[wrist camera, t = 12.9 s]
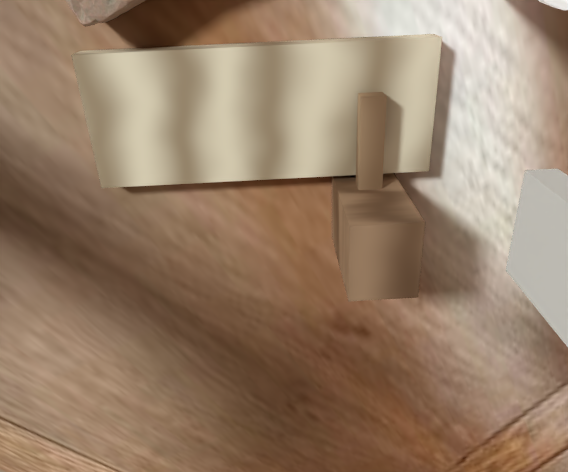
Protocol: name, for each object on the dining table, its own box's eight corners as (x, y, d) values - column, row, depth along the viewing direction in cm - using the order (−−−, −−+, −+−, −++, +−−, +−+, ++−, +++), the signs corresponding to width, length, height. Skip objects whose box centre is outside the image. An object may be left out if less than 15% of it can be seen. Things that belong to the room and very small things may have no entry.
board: (108, 178, 42) (101, 188, 40) (80, 50, 37) (71, 54, 35) (421, 162, 42) (428, 171, 40) (433, 33, 37) (442, 37, 35)
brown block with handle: (331, 236, 45) (348, 301, 36) (331, 87, 39) (351, 121, 30) (387, 233, 45) (418, 297, 36) (396, 83, 39) (435, 117, 30)
